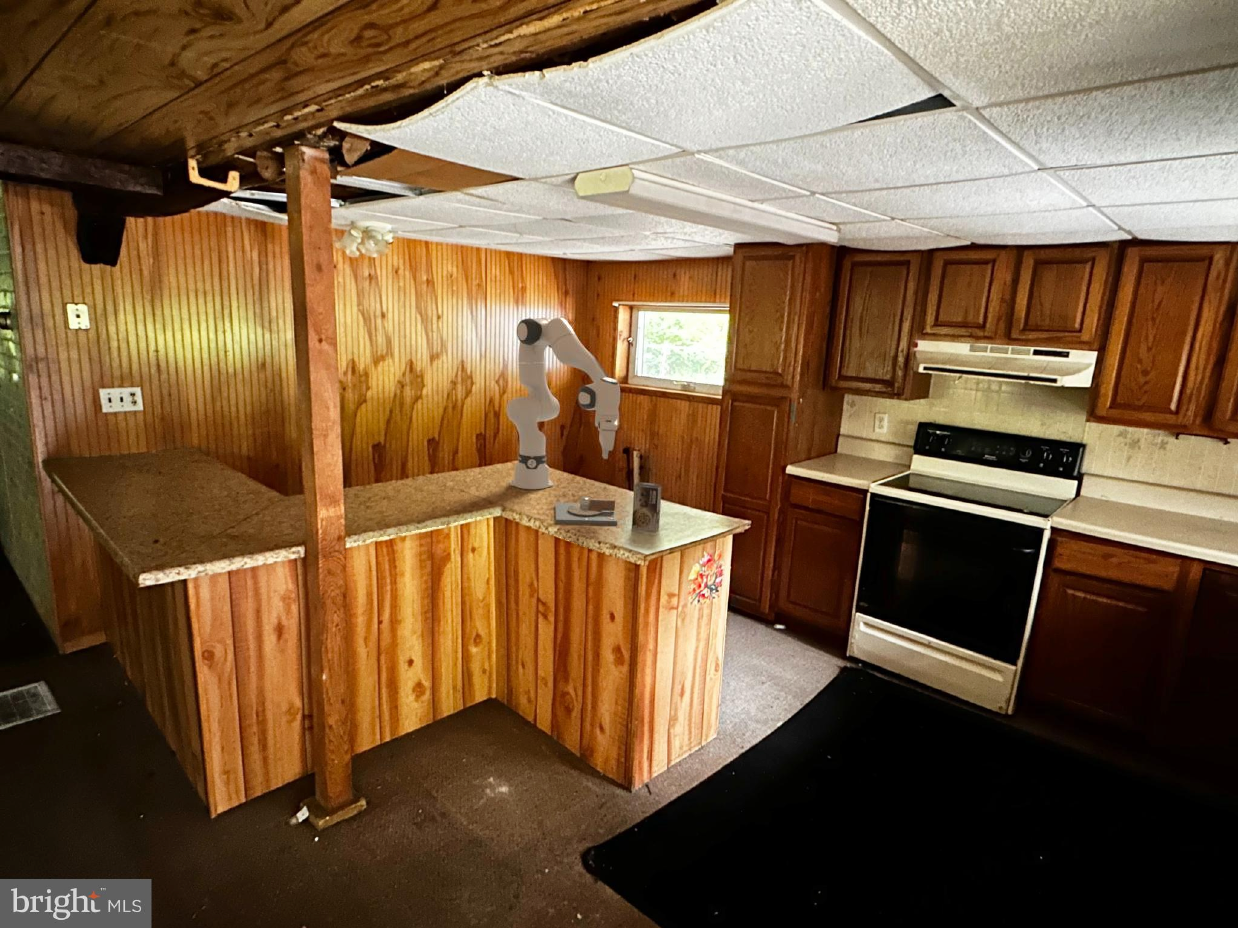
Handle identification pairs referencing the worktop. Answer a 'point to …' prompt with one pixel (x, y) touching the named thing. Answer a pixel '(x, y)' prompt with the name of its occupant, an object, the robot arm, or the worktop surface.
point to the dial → (592, 506)
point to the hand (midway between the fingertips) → (604, 457)
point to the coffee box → (646, 506)
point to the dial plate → (570, 518)
